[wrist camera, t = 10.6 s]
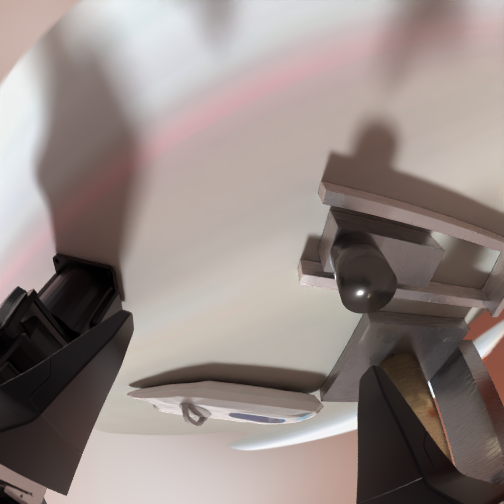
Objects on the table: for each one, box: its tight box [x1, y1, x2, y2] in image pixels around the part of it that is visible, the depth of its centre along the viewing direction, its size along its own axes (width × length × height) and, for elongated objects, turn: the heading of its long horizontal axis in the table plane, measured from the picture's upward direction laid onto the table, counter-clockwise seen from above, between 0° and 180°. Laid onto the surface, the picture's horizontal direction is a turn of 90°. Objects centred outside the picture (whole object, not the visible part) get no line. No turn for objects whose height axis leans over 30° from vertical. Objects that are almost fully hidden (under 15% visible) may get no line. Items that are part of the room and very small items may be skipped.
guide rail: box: [298, 181, 504, 317], centre depth 17 cm, size 20×6×3 cm, turn 81°
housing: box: [379, 354, 452, 462], centre depth 17 cm, size 5×5×14 cm
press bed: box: [320, 311, 504, 504], centre depth 16 cm, size 16×12×21 cm
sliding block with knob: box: [318, 210, 445, 313], centre depth 16 cm, size 8×3×6 cm, turn 81°
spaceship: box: [127, 380, 323, 426], centre depth 27 cm, size 23×7×4 cm, turn 98°
